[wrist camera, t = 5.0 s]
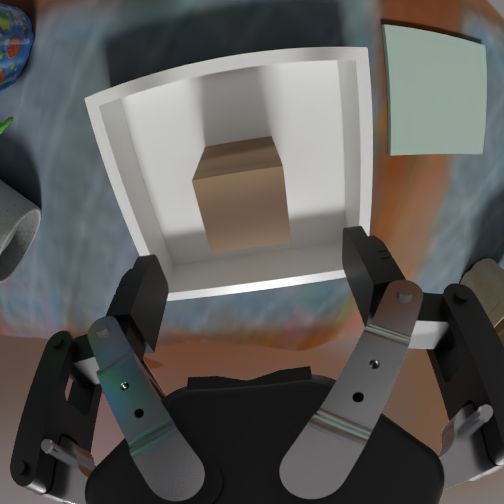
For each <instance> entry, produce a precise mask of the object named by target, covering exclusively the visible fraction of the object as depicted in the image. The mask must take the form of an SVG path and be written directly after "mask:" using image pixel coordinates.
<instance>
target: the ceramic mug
mask: <svg viewBox="0 0 504 504" xmlns="http://www.w3.org/2000/svg"><path fill="white" fill-rule="evenodd" d="M40 220H41V210H40V208H39V207H38V206H36V205H35V204H34V203H32V202H31V201H29V200H28V199H26V198H25V197H24V196H22V195H21V194H19V193H18V192H17V191H16V190H14V189H13V188H11V187H10V186H8V185H7V184H6V183H4V182H3V181H2V180H1V179H0V283H2V282H4V281H5V280H7V279H8V278H9V277H10V276H11V275H12V274H13V273H14V272H15V270H16V269H17V268H18V266H19V265H20V263H21V262H22V260H23V258H24V257H25V255H26V253H27V252H28V250H29V248H30V246H31V244H32V242H33V240H34V238H35V235H36V233H37V230H38V228H39V224H40Z"/></svg>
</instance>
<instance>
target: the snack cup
mask: <svg viewBox="0 0 504 504" xmlns="http://www.w3.org/2000/svg"><path fill="white" fill-rule="evenodd" d="M31 27H32V25H31V21H30V19H29V18H28V16H27V15H26V14H25V13H24V12H23V10H21V9H19V8H17V7H13V6H10V5H6V4H3V3H0V92H1V91H3V90H5V89H6V88H8V87H9V86H10V85H12V84H13V83H15V81H16V80H17V78H18V77H19V74H20V73H21V71H22V69H23V67H24V65H25V63H26V61H27V59H28V56H29V53H30V47H31V45H32V44H33V38H34V37H33V33H32V30H31ZM12 121H13V117H9V118H8V119H7V120H6V121H5V122H3V123H1V124H0V134H1V133H2V132H3V131H4V130H5V129H6V128H7V126H8V125H9V124H10V123H11V122H12Z"/></svg>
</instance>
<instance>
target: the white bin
mask: <svg viewBox="0 0 504 504" xmlns="http://www.w3.org/2000/svg"><path fill="white" fill-rule="evenodd" d="M85 102H86V106H87V109H88V113H89V116H90V120H91V123H92V127H93V130H94V133H95V137H96V140H97V143H98V146H99V149H100V153H101V156H102V159H103V162H104V165H105V168H106V170H107V173H108V176H109V179H110V182H111V185H112V187H113V190H114V193H115V196H116V198H117V201H118V204H119V206H120V209H121V211H122V214H123V216H124V219H125V221H126V224H127V226H128V229H129V231H130V234H131V236H132V238H133V241H134V243H135V246H136V248H137V250H138V253H139V255H140V256H145V255H152V254H155V255H156V256H157V258H158V260H159V263H160V265H161V268H162V270H163V272H164V275H165V277H166V280H167V282H168V288H169V293H168V298H167V301H171V300H181V299H190V298H199V297H207V296H216V295H224V294H232V293H240V292H248V291H255V290H263V289H270V288H277V287H285V286H292V285H298V284H305V283H312V282H318V281H325V280H331V279H338V278H344V277H346V275H345V272H344V269H343V264H342V242H343V228H345V227H353V226H362V227H363V229H364V231H365V232H366V234H367V236H369V230H370V216H371V198H372V170H373V127H372V100H371V83H370V70H369V59H368V49H367V48H366V47H309V48H292V49H280V50H270V51H261V52H253V53H246V54H239V55H233V56H227V57H221V58H216V59H211V60H206V61H201V62H197V63H192V64H188V65H184V66H180V67H176V68H172V69H168V70H164V71H161V72H157V73H154V74H151V75H147V76H144V77H141V78H138V79H135V80H132V81H129V82H126V83H123V84H120V85H117V86H114V87H112V88H109V89H106V90H104V91H101V92H99V93H96V94H94V95H91V96H89V97H86V98H85ZM269 136H272V138H273V141H274V143H275V146H276V149H277V151H278V154H279V157H280V159H281V162H282V165H283V170H284V178H285V187H286V196H287V206H288V216H289V226H290V236H291V242H288V243H281V244H274V245H267V246H260V247H253V248H246V249H239V250H232V251H225V252H218V253H211V249H210V246H209V242H208V239H207V235H206V232H205V228H204V225H203V221H202V217H201V214H200V210H199V206H198V203H197V199H196V195H195V191H194V187H193V184H192V179H193V176H194V173H195V171H196V168H197V166H198V163H199V161H200V158H201V156H202V153H203V151H204V148H205V147H207V146H213V145H218V144H224V143H229V142H235V141H242V140H248V139H255V138H261V137H269Z"/></svg>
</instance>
